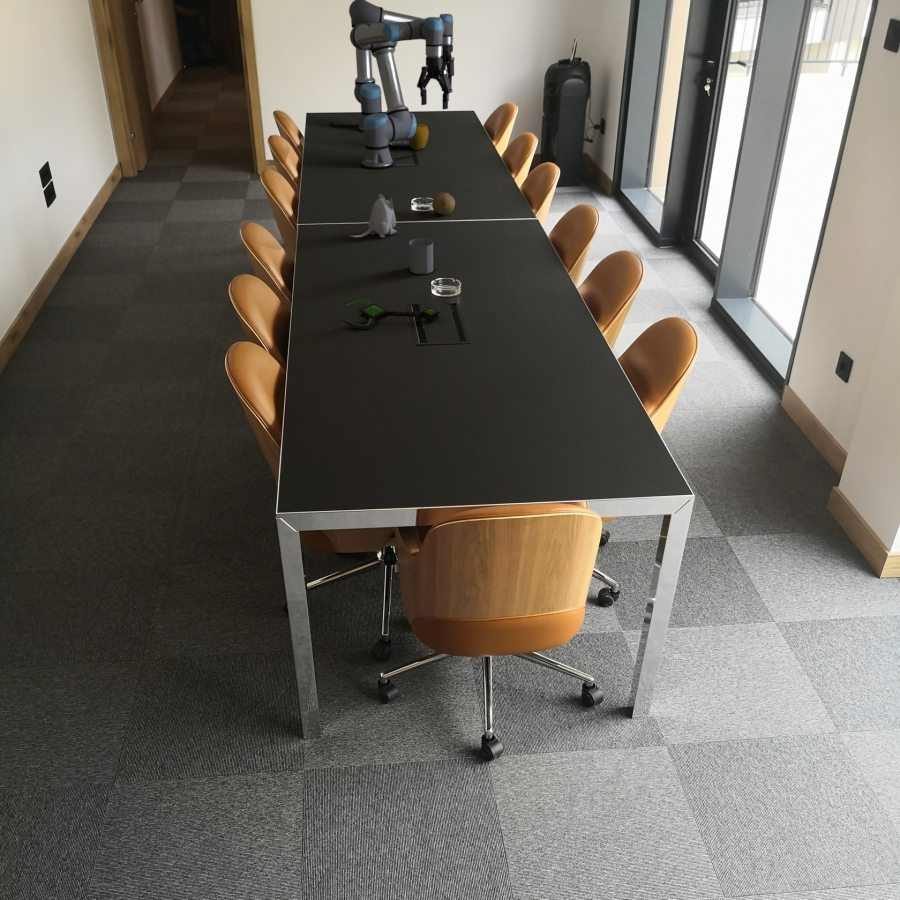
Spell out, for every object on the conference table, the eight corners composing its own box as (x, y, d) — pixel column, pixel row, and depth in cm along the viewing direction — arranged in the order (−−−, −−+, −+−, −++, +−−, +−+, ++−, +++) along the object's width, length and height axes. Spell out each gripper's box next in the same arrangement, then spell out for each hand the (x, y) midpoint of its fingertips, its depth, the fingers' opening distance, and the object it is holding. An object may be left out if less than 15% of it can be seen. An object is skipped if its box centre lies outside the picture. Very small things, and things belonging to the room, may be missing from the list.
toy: (402, 233, 342) (401, 194, 333) (358, 248, 327) (355, 208, 319) (387, 227, 347) (385, 190, 339) (342, 242, 332) (339, 203, 324)
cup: (409, 265, 311) (408, 238, 306) (432, 265, 312) (431, 238, 307) (410, 274, 304) (409, 246, 299) (433, 273, 305) (433, 246, 299)
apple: (428, 151, 450) (427, 125, 443) (407, 151, 450) (406, 125, 443) (429, 146, 459) (428, 121, 452) (408, 146, 459) (408, 120, 452)
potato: (453, 208, 369) (453, 189, 365) (456, 218, 357) (456, 199, 353) (431, 208, 368) (430, 189, 364) (432, 218, 356) (432, 199, 352)
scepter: (439, 293, 272) (343, 290, 270) (440, 323, 265) (342, 321, 263) (438, 306, 277) (344, 304, 275) (439, 336, 270) (342, 334, 268)
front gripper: (460, 58, 379) (460, 109, 390) (420, 52, 393) (421, 101, 405) (448, 60, 374) (448, 112, 386) (408, 54, 389) (409, 104, 400)
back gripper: (460, 45, 489) (460, 89, 501) (443, 41, 502) (443, 84, 515) (449, 46, 485) (449, 90, 498) (432, 42, 499) (432, 85, 511)
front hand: (434, 106), depth 395 cm, fingers open, 13 cm apart
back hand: (446, 87), depth 506 cm, fingers closed on canister, 6 cm apart
